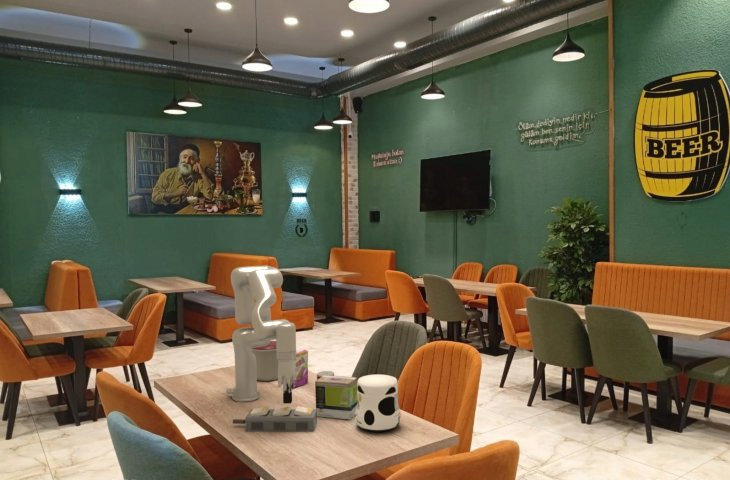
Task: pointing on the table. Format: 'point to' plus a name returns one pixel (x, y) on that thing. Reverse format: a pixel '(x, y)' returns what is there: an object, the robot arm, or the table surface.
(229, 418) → the table surface
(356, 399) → the tea box
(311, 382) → the table surface
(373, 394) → the milk container
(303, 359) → the candy bar box
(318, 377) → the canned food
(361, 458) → the table surface
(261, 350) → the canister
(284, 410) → the rocker
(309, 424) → the power strip
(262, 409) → the rocker
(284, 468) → the table surface
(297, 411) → the rocker
